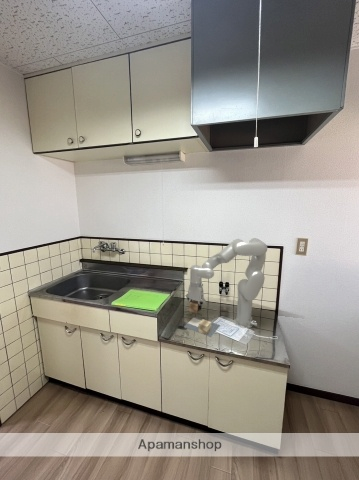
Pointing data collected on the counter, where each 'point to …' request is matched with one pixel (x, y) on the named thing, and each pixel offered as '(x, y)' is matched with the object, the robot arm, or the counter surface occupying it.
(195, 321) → the build board
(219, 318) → the counter surface
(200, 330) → the maple block
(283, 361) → the counter surface
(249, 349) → the counter surface
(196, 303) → the walnut block
